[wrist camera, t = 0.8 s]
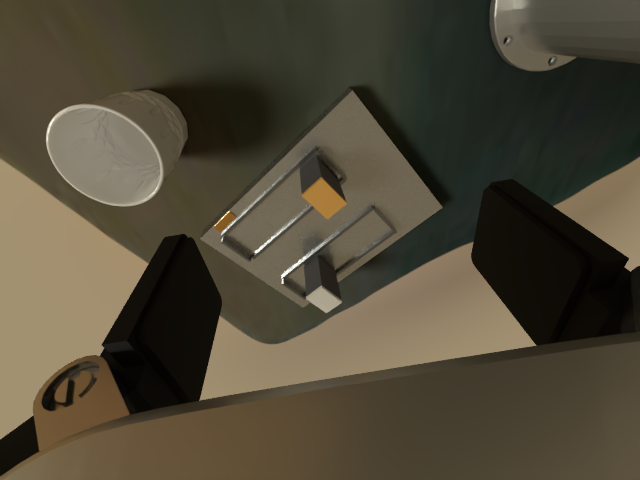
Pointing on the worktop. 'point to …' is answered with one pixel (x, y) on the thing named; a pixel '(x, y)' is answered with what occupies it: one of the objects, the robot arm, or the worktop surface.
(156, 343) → the robot arm
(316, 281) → the fader
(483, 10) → the worktop surface
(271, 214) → the console
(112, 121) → the white cup
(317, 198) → the block
